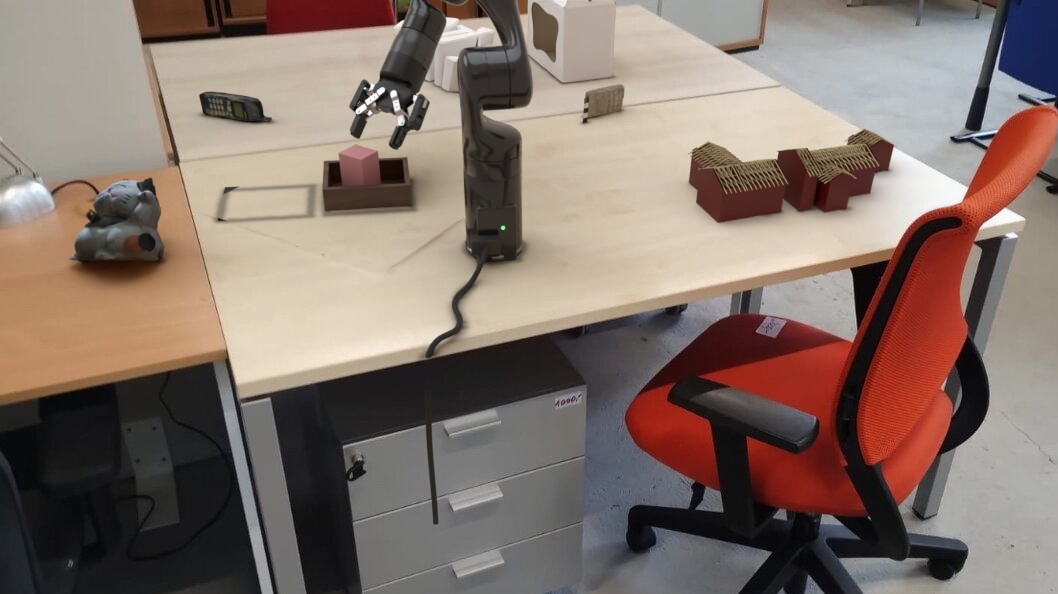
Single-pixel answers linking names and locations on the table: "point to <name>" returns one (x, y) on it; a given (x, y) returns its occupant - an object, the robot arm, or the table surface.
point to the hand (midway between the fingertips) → (373, 142)
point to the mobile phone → (232, 106)
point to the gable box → (572, 37)
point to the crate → (368, 187)
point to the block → (359, 166)
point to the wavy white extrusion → (453, 51)
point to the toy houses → (786, 177)
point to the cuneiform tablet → (603, 101)
